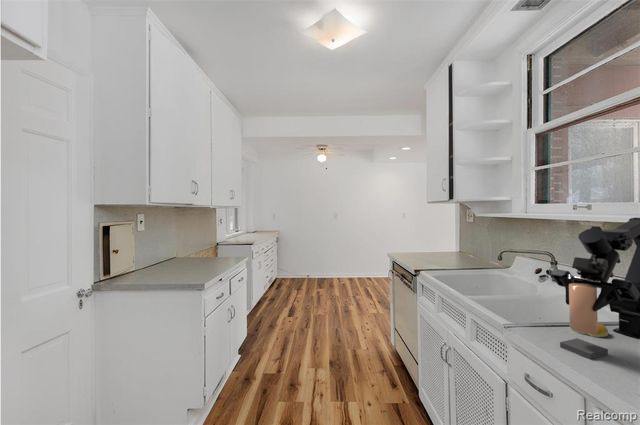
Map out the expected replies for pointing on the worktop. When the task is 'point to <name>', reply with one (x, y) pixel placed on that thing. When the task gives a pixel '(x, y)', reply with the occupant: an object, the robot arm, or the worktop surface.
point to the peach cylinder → (582, 307)
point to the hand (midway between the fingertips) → (580, 307)
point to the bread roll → (601, 332)
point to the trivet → (584, 348)
